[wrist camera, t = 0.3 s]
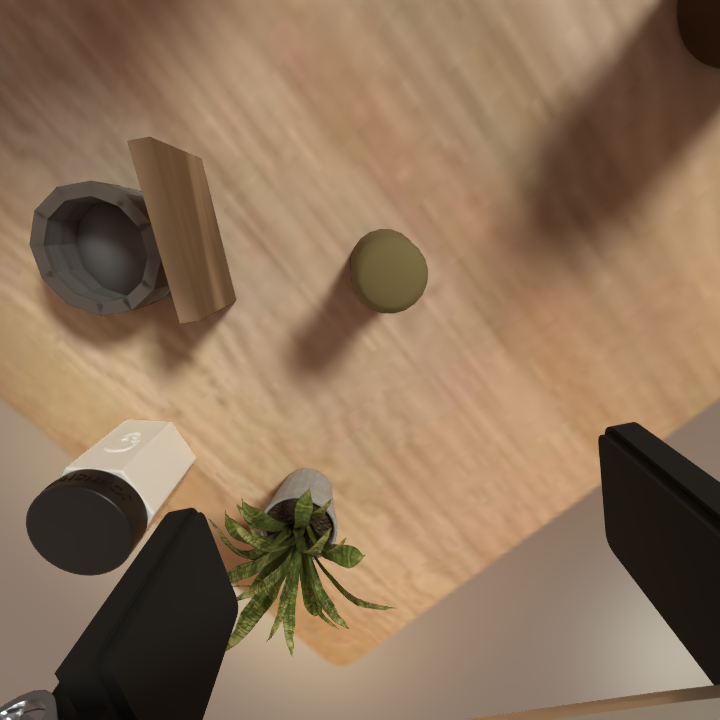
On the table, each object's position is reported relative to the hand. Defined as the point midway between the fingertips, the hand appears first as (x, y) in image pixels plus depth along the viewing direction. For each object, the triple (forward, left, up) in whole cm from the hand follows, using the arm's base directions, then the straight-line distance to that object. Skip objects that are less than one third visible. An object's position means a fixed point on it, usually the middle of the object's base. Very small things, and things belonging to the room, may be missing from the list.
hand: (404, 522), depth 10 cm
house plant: (+18, -9, -31) cm, 37 cm away
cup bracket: (-8, -19, -31) cm, 37 cm away
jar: (+12, -25, -31) cm, 41 cm away
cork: (-3, +1, -31) cm, 31 cm away
